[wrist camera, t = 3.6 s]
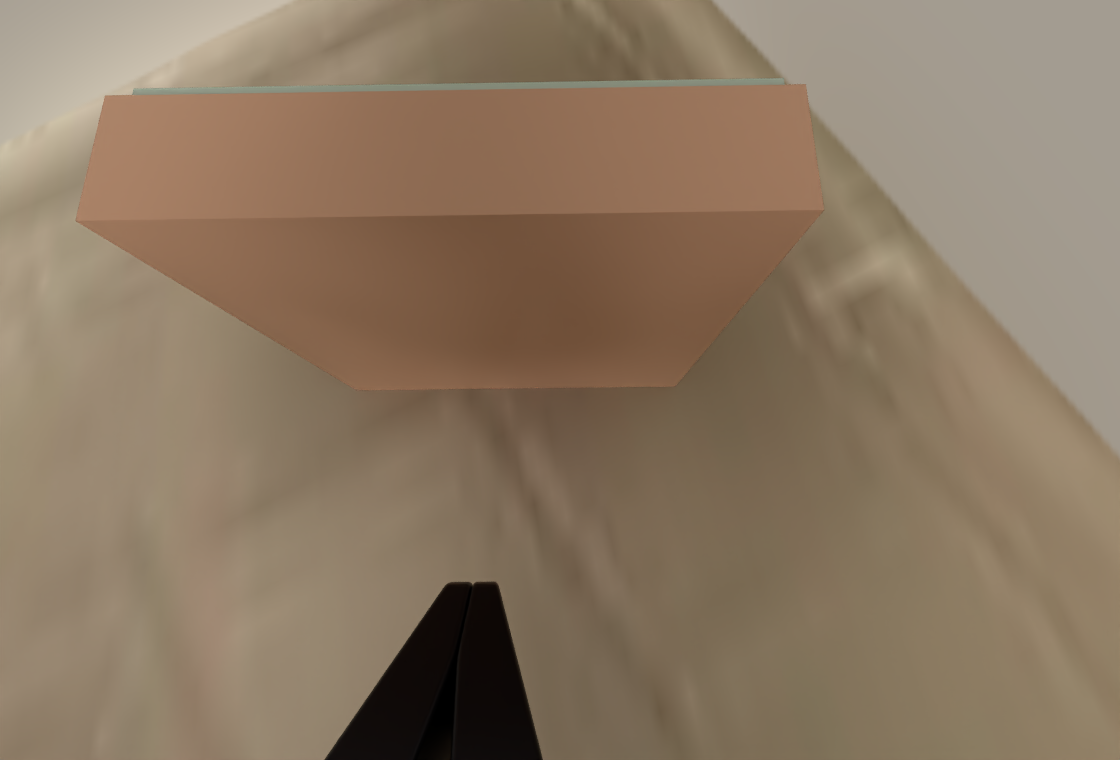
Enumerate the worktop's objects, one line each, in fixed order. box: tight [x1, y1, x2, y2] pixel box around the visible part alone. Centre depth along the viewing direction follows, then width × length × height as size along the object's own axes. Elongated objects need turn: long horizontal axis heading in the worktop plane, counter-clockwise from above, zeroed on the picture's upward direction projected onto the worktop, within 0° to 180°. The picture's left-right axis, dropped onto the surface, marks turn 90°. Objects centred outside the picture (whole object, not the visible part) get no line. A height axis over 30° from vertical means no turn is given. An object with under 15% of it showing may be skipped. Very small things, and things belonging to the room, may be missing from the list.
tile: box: [76, 78, 824, 390], centre depth 12 cm, size 2×10×10 cm, turn 90°
